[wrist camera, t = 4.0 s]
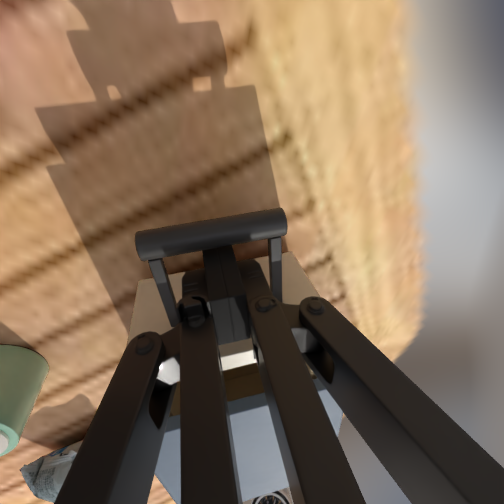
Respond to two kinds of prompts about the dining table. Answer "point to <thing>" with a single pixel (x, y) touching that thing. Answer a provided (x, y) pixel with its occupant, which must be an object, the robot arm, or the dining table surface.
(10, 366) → the votive
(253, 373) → the drawer
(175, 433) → the cabinet
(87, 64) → the dining table surface
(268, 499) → the watch
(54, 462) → the packaged food
